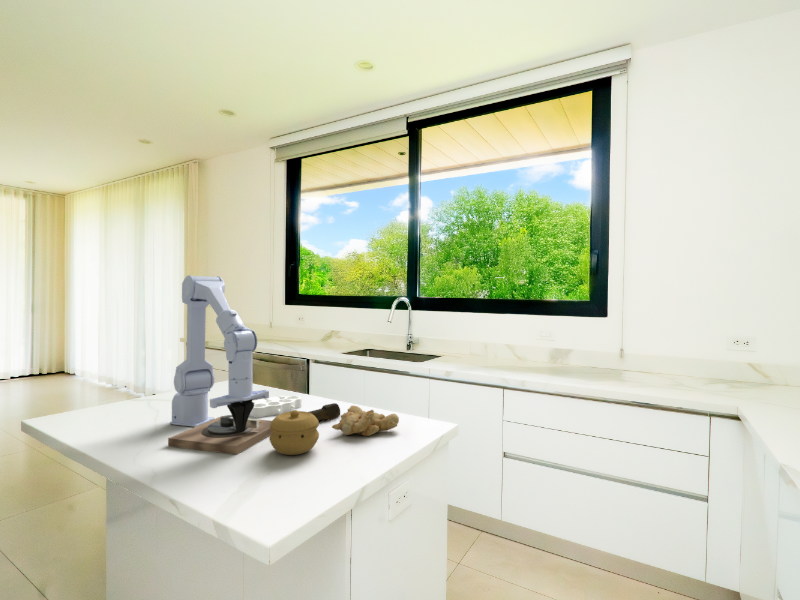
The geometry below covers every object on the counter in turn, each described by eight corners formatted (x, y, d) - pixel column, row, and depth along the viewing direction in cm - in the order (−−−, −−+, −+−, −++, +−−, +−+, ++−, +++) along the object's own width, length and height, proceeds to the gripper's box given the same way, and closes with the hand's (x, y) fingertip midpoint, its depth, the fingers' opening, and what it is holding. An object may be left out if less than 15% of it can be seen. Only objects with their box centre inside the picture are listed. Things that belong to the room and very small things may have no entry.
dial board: (168, 446, 105) (168, 437, 105) (221, 422, 124) (222, 415, 124) (236, 454, 100) (236, 445, 100) (281, 428, 119) (281, 421, 119)
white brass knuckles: (284, 401, 150) (310, 409, 141) (237, 412, 137) (262, 421, 127) (284, 392, 150) (310, 399, 141) (237, 402, 137) (262, 410, 127)
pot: (275, 443, 108) (275, 404, 108) (321, 442, 109) (321, 403, 108) (264, 461, 96) (264, 417, 96) (315, 460, 97) (315, 417, 97)
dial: (199, 432, 108) (199, 420, 108) (225, 421, 118) (225, 410, 118) (246, 437, 105) (246, 425, 105) (268, 425, 114) (268, 414, 114)
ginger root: (320, 428, 116) (326, 398, 117) (361, 428, 127) (367, 402, 128) (357, 444, 105) (364, 412, 106) (399, 443, 117) (404, 414, 118)
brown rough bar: (288, 431, 117) (288, 415, 117) (281, 428, 120) (282, 412, 120) (344, 419, 130) (345, 404, 130) (337, 416, 133) (337, 401, 133)
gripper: (217, 384, 98) (217, 441, 99) (274, 376, 109) (274, 428, 109) (206, 379, 104) (206, 434, 104) (261, 372, 114) (261, 422, 114)
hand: (240, 430), depth 107 cm, fingers closed
